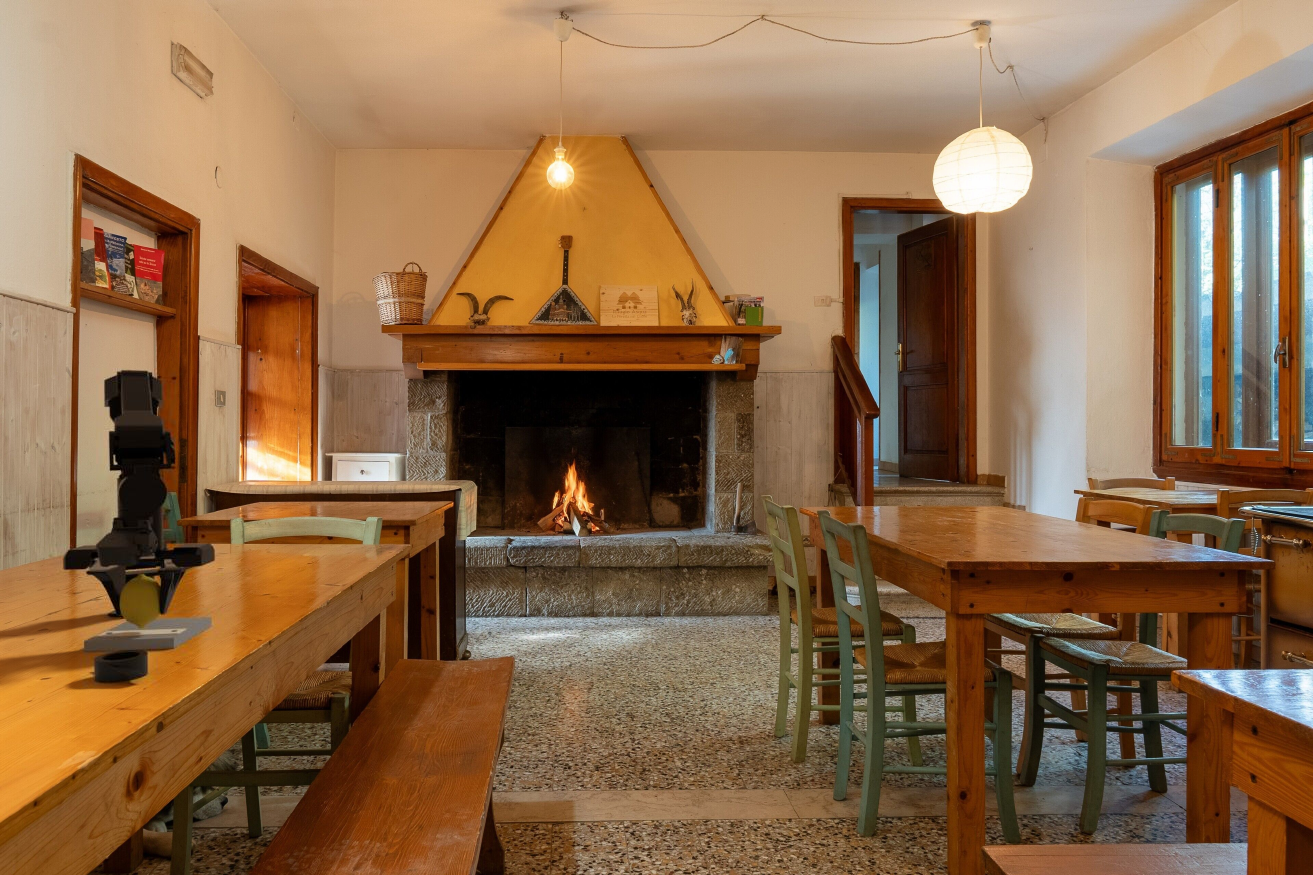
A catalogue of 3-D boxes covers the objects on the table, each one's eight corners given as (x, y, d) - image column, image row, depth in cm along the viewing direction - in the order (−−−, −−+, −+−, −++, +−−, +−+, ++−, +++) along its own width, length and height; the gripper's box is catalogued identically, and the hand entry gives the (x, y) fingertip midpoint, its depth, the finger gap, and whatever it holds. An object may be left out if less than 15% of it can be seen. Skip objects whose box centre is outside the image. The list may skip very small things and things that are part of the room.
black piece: (165, 665, 116) (165, 644, 116) (144, 687, 107) (144, 663, 107) (100, 670, 114) (99, 648, 114) (72, 692, 105) (72, 668, 105)
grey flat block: (131, 628, 137) (130, 618, 137) (211, 626, 138) (211, 615, 138) (84, 651, 123) (83, 639, 123) (174, 648, 125) (173, 636, 125)
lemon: (149, 632, 125) (148, 577, 125) (111, 632, 125) (110, 577, 125) (171, 623, 131) (170, 570, 130) (135, 624, 131) (134, 570, 131)
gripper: (39, 515, 118) (41, 629, 119) (185, 513, 121) (186, 625, 121) (83, 507, 129) (84, 612, 130) (215, 505, 132) (216, 608, 132)
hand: (141, 614), depth 128 cm, fingers closed on lemon, 5 cm apart
